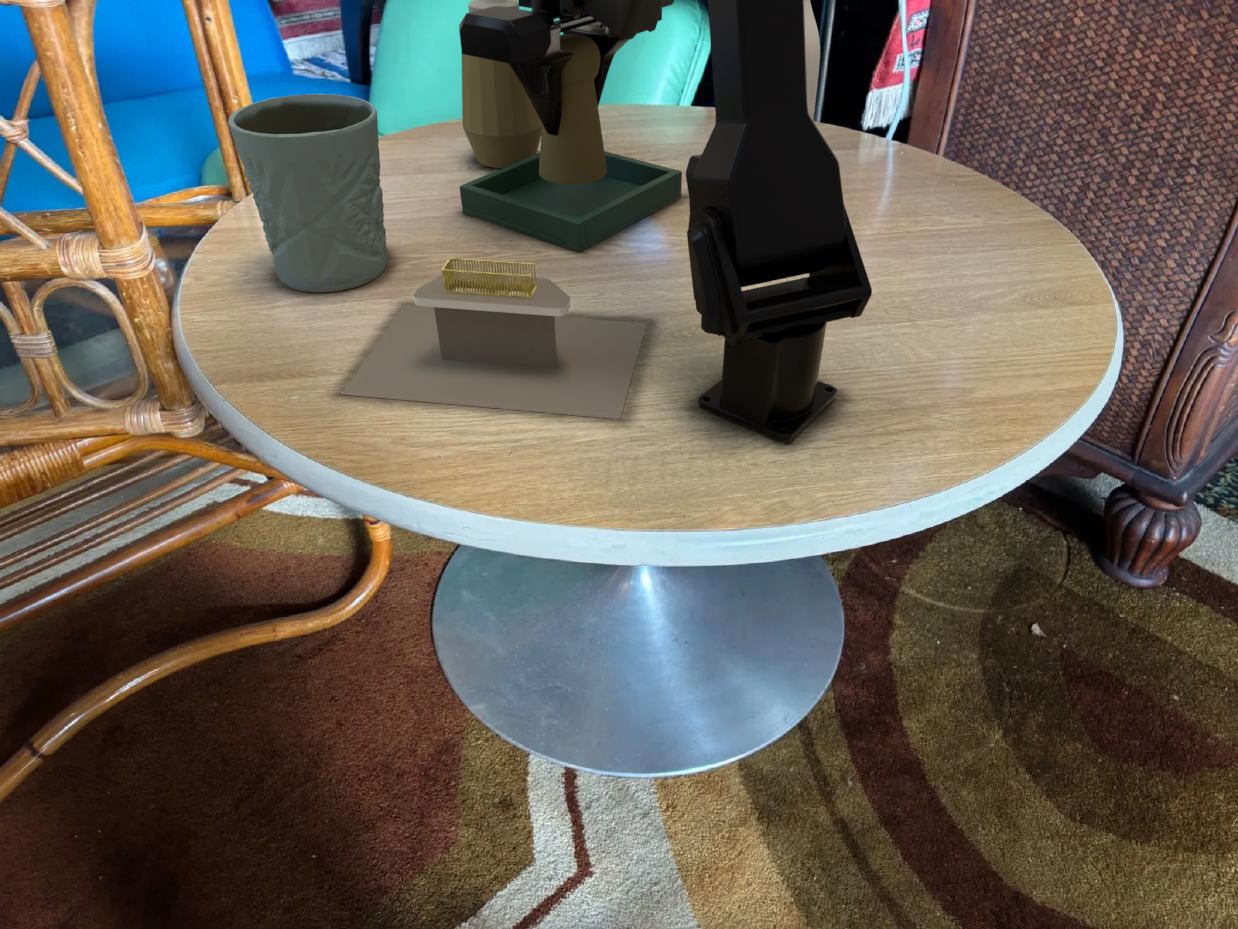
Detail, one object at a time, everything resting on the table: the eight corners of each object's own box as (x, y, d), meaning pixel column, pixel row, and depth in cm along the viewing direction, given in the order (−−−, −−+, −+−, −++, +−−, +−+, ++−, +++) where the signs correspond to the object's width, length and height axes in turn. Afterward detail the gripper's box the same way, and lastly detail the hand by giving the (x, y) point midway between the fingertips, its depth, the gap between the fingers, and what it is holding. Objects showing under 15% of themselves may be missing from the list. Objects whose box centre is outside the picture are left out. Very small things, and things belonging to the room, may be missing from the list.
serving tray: (580, 252, 73) (578, 223, 72) (462, 213, 80) (459, 185, 78) (681, 197, 82) (682, 170, 81) (568, 166, 89) (567, 140, 87)
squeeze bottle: (543, 174, 87) (531, -36, 76) (460, 174, 87) (436, -35, 76) (549, 146, 93) (539, -51, 82) (472, 146, 94) (451, -51, 83)
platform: (405, 305, 66) (391, 220, 62) (646, 323, 64) (648, 236, 60) (340, 394, 57) (318, 301, 53) (619, 419, 55) (619, 324, 51)
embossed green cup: (246, 268, 71) (201, 113, 64) (354, 230, 77) (325, 83, 70) (316, 310, 66) (276, 145, 58) (427, 265, 72) (403, 109, 64)
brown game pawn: (599, 186, 76) (596, 47, 69) (530, 181, 77) (521, 43, 70) (613, 162, 81) (612, 29, 74) (548, 158, 82) (541, 26, 75)
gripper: (563, -61, 57) (573, 179, 67) (720, -91, 69) (710, 117, 79) (442, -74, 63) (467, 150, 72) (607, -100, 74) (610, 96, 84)
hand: (571, 127), depth 77 cm, fingers closed on brown game pawn, 4 cm apart
